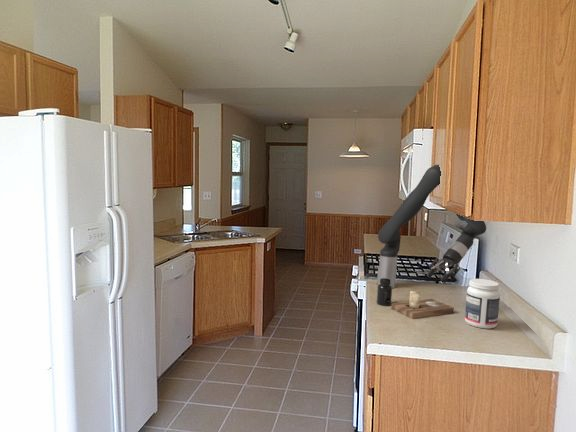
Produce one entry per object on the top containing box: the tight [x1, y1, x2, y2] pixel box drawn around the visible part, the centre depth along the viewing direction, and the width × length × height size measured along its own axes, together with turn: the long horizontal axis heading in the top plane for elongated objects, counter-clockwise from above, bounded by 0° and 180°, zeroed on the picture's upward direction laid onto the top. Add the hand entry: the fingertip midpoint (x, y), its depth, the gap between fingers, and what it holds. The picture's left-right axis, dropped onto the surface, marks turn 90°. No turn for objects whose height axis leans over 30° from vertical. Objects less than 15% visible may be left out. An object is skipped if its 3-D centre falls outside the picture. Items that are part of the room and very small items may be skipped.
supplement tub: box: [464, 278, 501, 330], centre depth 182 cm, size 13×13×18 cm
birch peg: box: [409, 290, 421, 309], centre depth 195 cm, size 4×4×9 cm
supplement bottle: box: [376, 278, 393, 307], centre depth 205 cm, size 7×7×12 cm
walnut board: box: [391, 298, 455, 320], centre depth 197 cm, size 14×24×3 cm, turn 115°
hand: (435, 279), depth 198 cm, fingers open, 8 cm apart
